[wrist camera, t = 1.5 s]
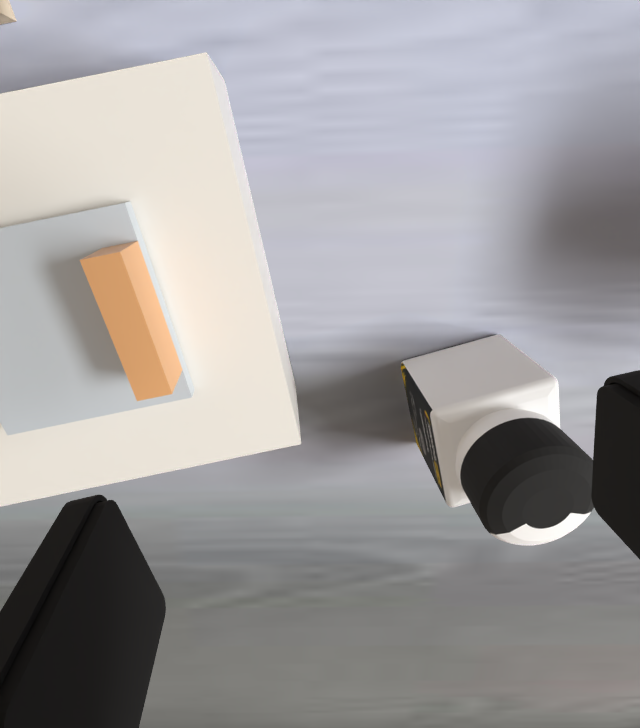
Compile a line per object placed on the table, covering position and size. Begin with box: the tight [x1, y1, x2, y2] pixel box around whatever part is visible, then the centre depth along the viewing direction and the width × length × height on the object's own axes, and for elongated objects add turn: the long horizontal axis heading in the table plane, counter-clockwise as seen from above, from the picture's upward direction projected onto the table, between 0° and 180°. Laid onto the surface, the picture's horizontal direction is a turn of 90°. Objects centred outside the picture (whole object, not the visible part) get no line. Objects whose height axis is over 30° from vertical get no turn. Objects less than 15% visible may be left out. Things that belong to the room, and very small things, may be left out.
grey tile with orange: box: [0, 201, 195, 435], centre depth 19 cm, size 9×9×3 cm
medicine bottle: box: [401, 335, 594, 545], centre depth 27 cm, size 7×7×12 cm
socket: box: [0, 52, 301, 507], centre depth 24 cm, size 18×18×7 cm
